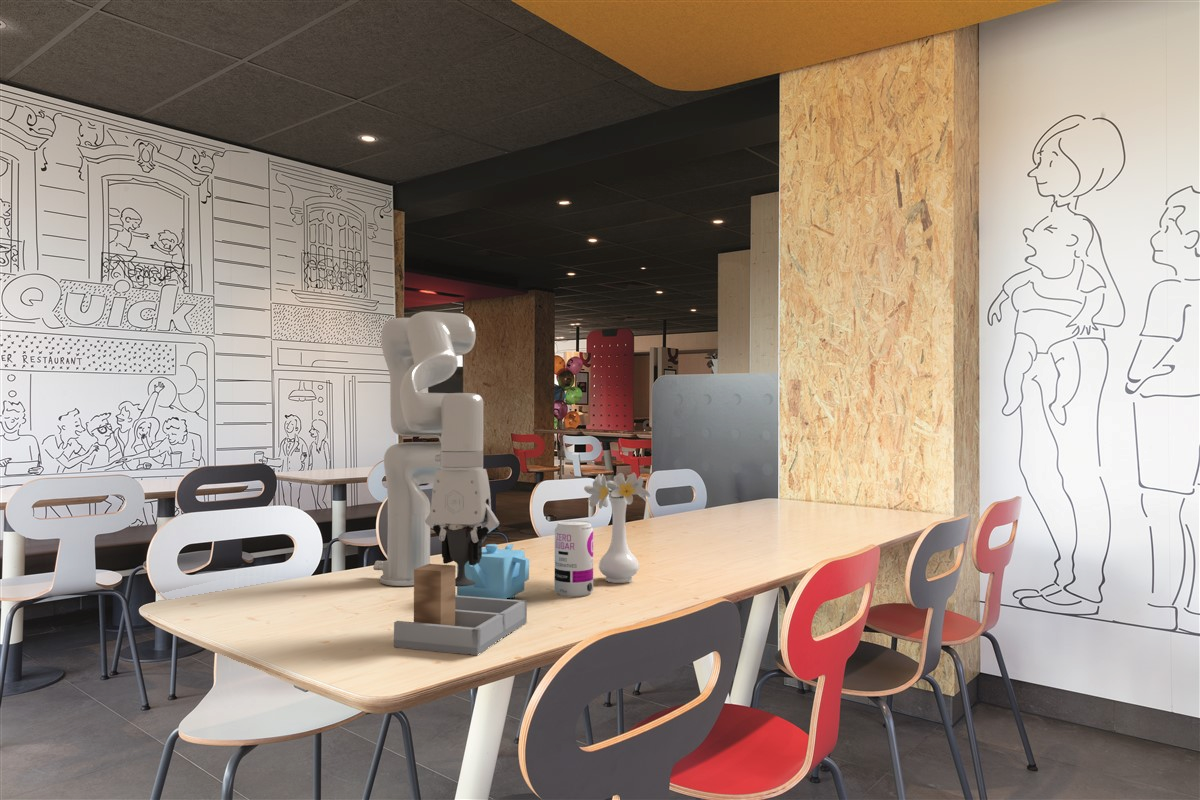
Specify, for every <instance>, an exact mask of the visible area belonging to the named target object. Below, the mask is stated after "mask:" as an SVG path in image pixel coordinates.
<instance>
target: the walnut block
mask: <svg viewBox="0 0 1200 800" xmlns="http://www.w3.org/2000/svg"><path fill="white" fill-rule="evenodd" d="M456 571H457V565H455V564H454V565H453V564H439V563H437V564H436V563H430V564H427V565H425V566H422V567H419V568H416V569H414V585H413V622H417V623H428V624H439V625H450V626H455V595H456V586H455V579H456V574H457V572H456Z"/></svg>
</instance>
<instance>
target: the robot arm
mask: <svg viewBox="0 0 1200 800" xmlns="http://www.w3.org/2000/svg"><path fill="white" fill-rule="evenodd" d="M380 337H381V339H380V341H381V342H380V343H381V350H382V354H383V358H384V360H385V363H386V366H387V368H388V373H389V381H390V382H389V387H390V388H389V389H390V392H389V394H390V395H389V396H390V397H389V398H390V399H389V400H390V401H389V402H390V404H389V405H390V407H389V408H390V412H389V413H390V414H389V415H390V425H391V429H392V431H393V432H394V433H395V434H396V435H398V436H401V437H437V438H438V439H439V441H436V442H435V441H434V442H433V441H428V442H427V441H425V442H424V441H415V442H414V441H407V442H406V441H405V442H400V443H394V444H392V445H390V446H389V447H388V448H387V449H386V450H385V453H384V456H383V465H384V466H383V467H384V474H385V479H386V488H387V491H386V492H387V542H386V543H387V545H386V546H387V552H386V553H387V554H386V555H387V557H386V558H387V559H386V560H375V562H374V564H373V568H372V569H373V570H374V571H382V575H380V578H379V582H380V583H381V584H383V585H387V586H393V587H412V586H413V587H414V569H416V568H419V567H422V566H425V565H427V564H431V529H432V530H433V532H434V533H435V535H437V536H438V540H439V541H441V557H442V564H443V565H448V564H449V563H452V562H454V561H453V560H452V558H451V557H450V552H449V546H448V538H447V532H446V530H445V529H443V528H444V527H445V526H446V527H448V526H449V525H452V524H455V525H460V526H469V528H471V529H473V530H472V531H470V533H471V538H472V542H470V543H469V564H470V565H475V564H477V563H480V559H481V557H482V548H483V547H482V546H483V543H482V542H483V541H484V540H485V538H486V537H487V536H488V535H489V534H490V533H491V532H492V531H493V530H495V529H496V528H497V527H499V526H500V521H499V520H498V518H497V516H496V515H495V513H494V512H493V511H492V502H491V501H492V499H491V488H490V481H489V480H490V479H489V476H488V472H487V468H484V399H483V397H482V396H481V395H480V394H478V393H471V392H453V393H452V392H450V393H446V392H429V388H430V387H434V386H435V385H438V384H441V383H442V382H445V381H447V380H449V379H450V378H451V377H452V376H453V375H455V372H456V371H457V369H458V356H462V355H466V354H468V353H469V352H470V351H472V349H473V348H474V346H475V343H476V337H477V334H476V326H475V325H474V322H473V321H472V319H471V318H470V317H469V316H468V315H466V314H465V313H457V312H446V311H445V312H444V311H420V312H417V313H415V314H413V315H411V316H410V317H396V318H390V319H388V320H387V321H386V322H384V324H383V325H382V327H381V336H380ZM423 484H433V485H432V492H431V493H432V494H431V502H430V499H429V497H428V496H427V495H426V494H425V492H424V491H423V490H422V489H421V487H420V485H423ZM483 524H486V525H484V527H483ZM477 527H479V528H480V529H479V530H477Z"/></svg>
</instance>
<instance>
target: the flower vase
mask: <svg viewBox="0 0 1200 800" xmlns="http://www.w3.org/2000/svg"><path fill="white" fill-rule="evenodd" d="M643 486H644V478H643V477H642V476H641V475H639V476H638V477H637V474H636V473H635V472H632V473H630V475H629V474H628V476H627V479H626V480H625V475H624V473H622V472H619V473H617V475H614V476H613V480H607V478H606V475H604V474H603V473H602V474H600V473H598V475H597V476H596V477H595V478H594V480H593V481H592V485H586V486H584V488H583V489H584V491H585V492H586V493H587V494H589V495H590V496H589V497H588V499H587V502H589V506H590V507H591V508H593V507H596V505H597V504H598V508H599V509H602V508H603V507H604V508H608V507H609V502H610V505H611V506H610V507H611V513H612V514H611V515H612V526H611V527H612V528H611V529H612V531H611V540H610V544H609V547H608V549H607V551H606V552H605V553H604V555H603V556H602V557H601V558H600V560H599V562H598V569H599V571H600V573H601V574H602V575H603V576H604V577H605V581H606V582H607V581H608V582H607V583H611V584H627V583H631V582H632V581H633V576H635V575H636V574H637V572H638V571H639V569H640V562H639V560H638V558H637V557H636V556H635V555H634V554H633V553H632V552H631V549H630V547H629V545H628V541H627V532H626V530H627V528H626V527H627V525H626V515H627V514H626V512H627V505H632V504H633V502H634V497H633V495H638V496H639V497H640V498H642V499H643V500H644V502H646V503H648V499H647V498H650V497H651V494H650V493H649V491H648V490H646V488H644V487H643ZM607 497H608V498H607ZM646 497H647V498H646ZM608 500H609V502H608Z"/></svg>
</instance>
